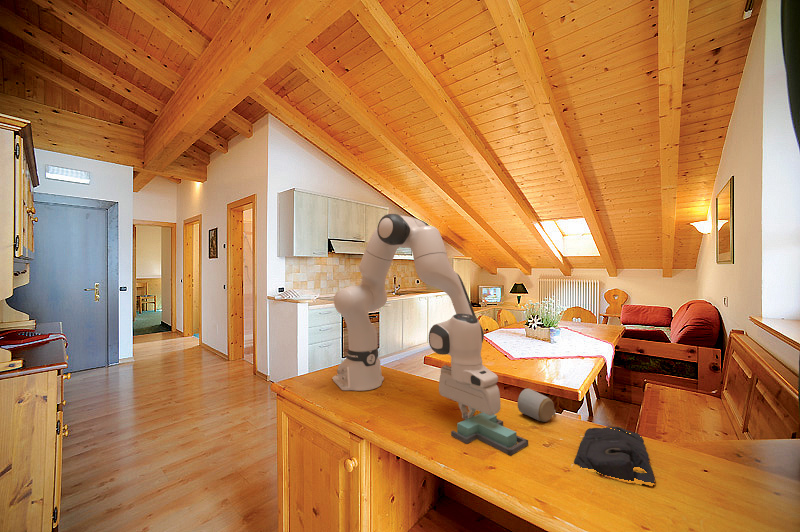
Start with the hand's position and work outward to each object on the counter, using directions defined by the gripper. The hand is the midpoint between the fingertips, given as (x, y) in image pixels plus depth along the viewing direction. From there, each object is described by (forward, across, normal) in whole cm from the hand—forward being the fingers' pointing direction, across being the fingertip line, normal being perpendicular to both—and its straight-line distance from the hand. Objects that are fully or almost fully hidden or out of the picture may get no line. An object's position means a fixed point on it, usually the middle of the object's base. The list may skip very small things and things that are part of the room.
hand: (467, 419), depth 97 cm
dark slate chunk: (+2, +32, +15) cm, 36 cm away
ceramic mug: (+2, +10, +21) cm, 23 cm away
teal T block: (+2, +8, 0) cm, 8 cm away
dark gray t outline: (+2, +8, 0) cm, 9 cm away
